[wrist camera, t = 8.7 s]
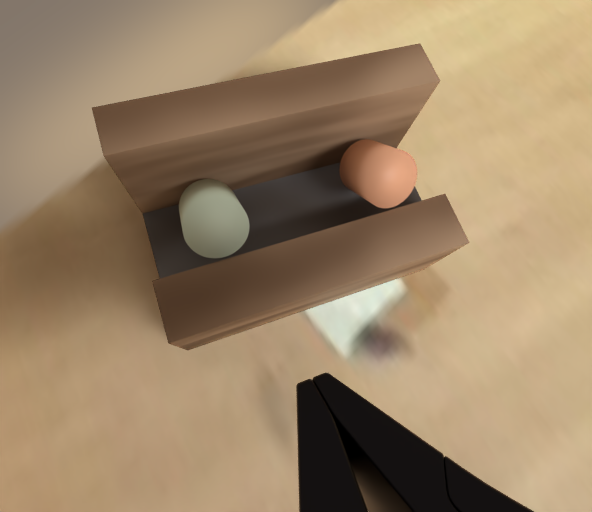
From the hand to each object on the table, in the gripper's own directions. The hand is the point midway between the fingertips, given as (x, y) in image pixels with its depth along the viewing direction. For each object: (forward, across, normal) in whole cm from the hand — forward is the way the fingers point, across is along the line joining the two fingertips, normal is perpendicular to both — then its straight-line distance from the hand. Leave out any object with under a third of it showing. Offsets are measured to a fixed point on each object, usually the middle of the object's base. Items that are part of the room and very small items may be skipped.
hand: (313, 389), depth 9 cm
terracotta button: (+13, -8, +1) cm, 15 cm away
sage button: (+13, +1, +1) cm, 13 cm away
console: (+15, -4, +4) cm, 16 cm away
